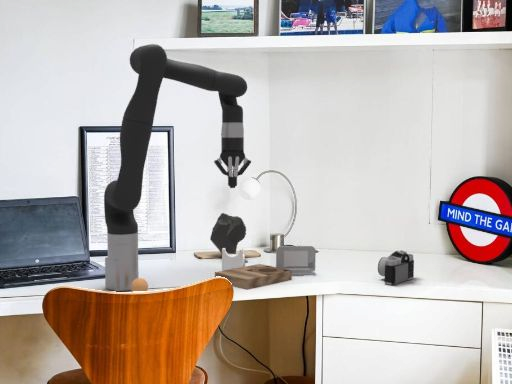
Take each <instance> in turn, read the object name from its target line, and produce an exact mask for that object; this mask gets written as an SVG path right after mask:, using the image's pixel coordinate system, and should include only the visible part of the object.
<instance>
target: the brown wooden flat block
mask: <svg viewBox="0 0 512 384" xmlns="http://www.w3.org/2000/svg"><path fill="white" fill-rule="evenodd" d="M216 276H221V277H225V278H227V279H228V280H229V281H230V282H231V283H232V285H233V286H232V287H236V288H241V289H245V290H250V289H255V288H258V287H264V286H269V285H273V284H278V283H283V282H286V281H291V280H292V279H293V278H292V277H293V276H292V270H287V269H282V268H277V267H276V266H272V265H266V264H261V263H257V264H253V265H252V264H251V265H246V266H243V267H240V268H233V269H229V270H220V271H214V278H215V277H216Z"/></svg>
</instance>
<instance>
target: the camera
mask: <svg viewBox="0 0 512 384" xmlns="http://www.w3.org/2000/svg"><path fill="white" fill-rule="evenodd" d="M414 271H415V260H414V255H413V254H411V253H408V252H407V251H404V250H395V251H394V252H392V253H391V254H389V255H388V256H387V257H386V256H382V257H381V258H380V259H379V261H378V264H377V273H378V274H379V276H380V277H384V285H390V286H391V285H392V286H394V285H397V284H401V283H404V282H407V281H410V280H413V279H414V277H415V275H414V274H415V272H414Z"/></svg>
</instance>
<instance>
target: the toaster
mask: <svg viewBox="0 0 512 384" xmlns="http://www.w3.org/2000/svg"><path fill="white" fill-rule="evenodd" d="M275 254H276V255H275V267H277V268H282V269H287V270H292V277H296V276H299V277H300V276H301V277H302V276H303V277H304V276H316V249H315V247H314V246H312V245H280V246H278V247H277V248H276V251H275Z"/></svg>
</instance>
